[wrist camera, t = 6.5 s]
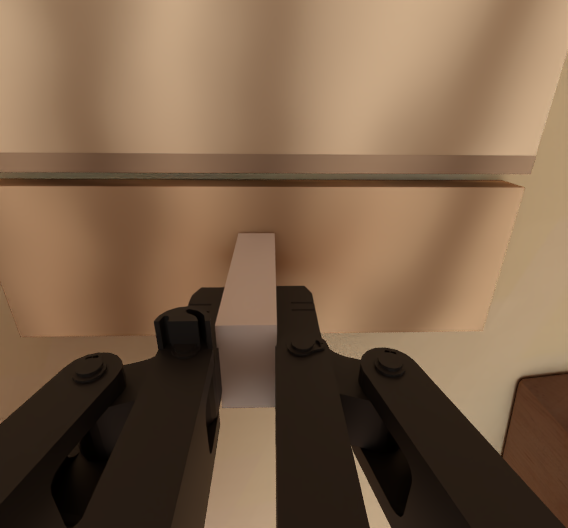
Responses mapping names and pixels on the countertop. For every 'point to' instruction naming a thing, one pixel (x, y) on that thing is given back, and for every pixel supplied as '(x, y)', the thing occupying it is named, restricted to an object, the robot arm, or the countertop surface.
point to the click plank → (252, 219)
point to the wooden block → (541, 440)
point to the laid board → (278, 85)
